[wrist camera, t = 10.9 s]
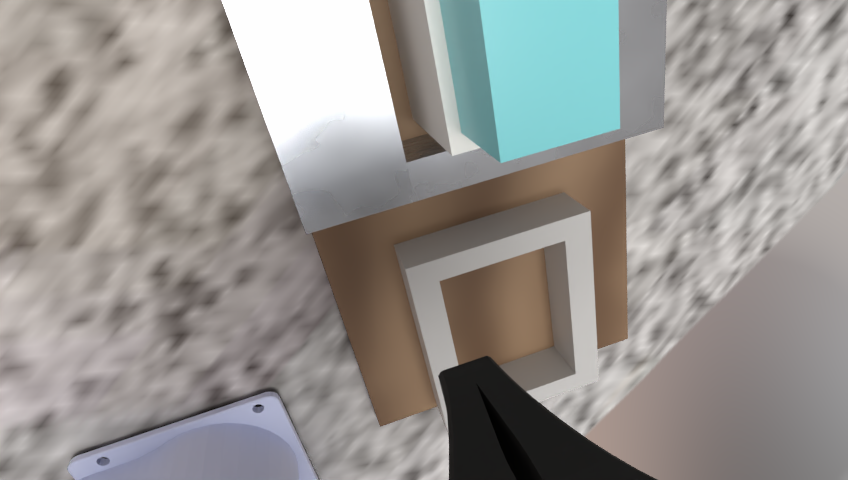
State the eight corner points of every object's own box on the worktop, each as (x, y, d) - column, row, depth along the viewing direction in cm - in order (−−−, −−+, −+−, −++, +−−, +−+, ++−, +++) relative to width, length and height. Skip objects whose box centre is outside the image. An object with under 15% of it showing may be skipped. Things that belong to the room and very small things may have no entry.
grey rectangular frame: (436, 402, 26) (448, 435, 24) (394, 244, 22) (405, 269, 20) (576, 353, 27) (598, 380, 25) (564, 192, 23) (590, 210, 21)
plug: (413, 119, 19) (488, 190, 12) (374, -60, 17) (445, -97, 10) (509, 92, 20) (634, 146, 13) (489, -85, 17) (634, -137, 10)
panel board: (377, 415, 26) (380, 426, 26) (179, -147, 15) (175, -154, 14) (619, 329, 28) (627, 338, 28) (606, -230, 17) (620, -239, 16)
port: (302, 207, 20) (306, 234, 18) (182, -133, 15) (166, -154, 12) (624, 114, 22) (663, 127, 19) (620, -219, 16) (672, -251, 14)
